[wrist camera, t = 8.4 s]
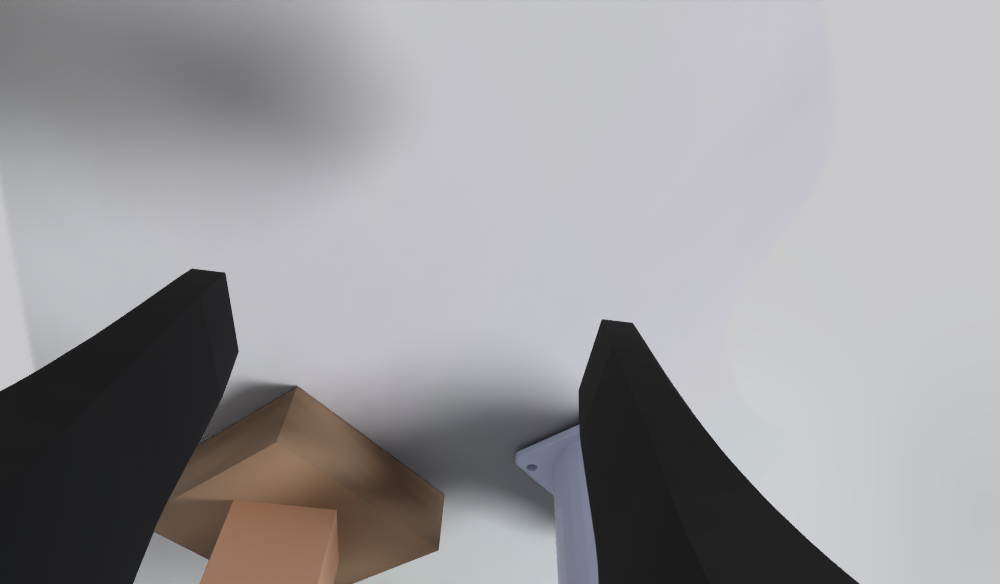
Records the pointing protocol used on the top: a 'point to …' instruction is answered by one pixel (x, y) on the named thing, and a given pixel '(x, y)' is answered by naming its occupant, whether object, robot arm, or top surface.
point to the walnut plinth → (307, 486)
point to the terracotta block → (275, 546)
